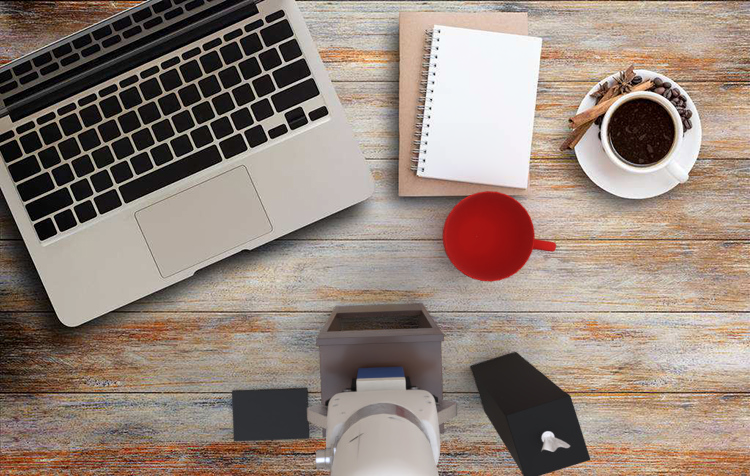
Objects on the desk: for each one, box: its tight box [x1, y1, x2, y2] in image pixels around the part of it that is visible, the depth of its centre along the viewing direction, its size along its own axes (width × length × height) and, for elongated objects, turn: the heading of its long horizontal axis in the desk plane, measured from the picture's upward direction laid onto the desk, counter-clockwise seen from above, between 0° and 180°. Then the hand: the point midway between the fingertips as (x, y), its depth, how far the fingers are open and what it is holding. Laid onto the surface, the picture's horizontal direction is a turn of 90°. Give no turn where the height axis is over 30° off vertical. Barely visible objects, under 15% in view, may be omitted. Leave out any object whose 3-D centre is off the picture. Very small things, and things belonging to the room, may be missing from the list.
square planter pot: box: [315, 302, 445, 439], centre depth 74 cm, size 12×14×28 cm
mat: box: [231, 387, 310, 442], centre depth 87 cm, size 8×12×1 cm, turn 92°
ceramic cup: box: [441, 190, 557, 283], centre depth 82 cm, size 13×17×10 cm
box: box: [356, 367, 406, 392], centre depth 58 cm, size 5×5×6 cm
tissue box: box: [469, 351, 591, 476], centre depth 74 cm, size 8×8×28 cm
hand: (381, 391), depth 60 cm, fingers closed on box, 5 cm apart
